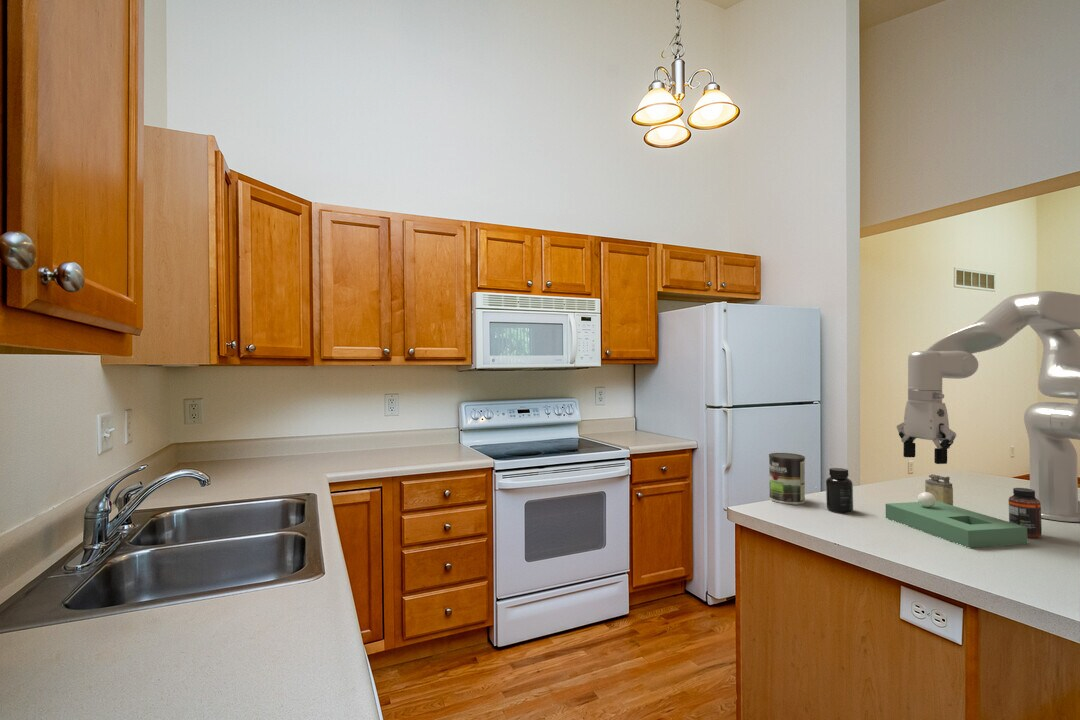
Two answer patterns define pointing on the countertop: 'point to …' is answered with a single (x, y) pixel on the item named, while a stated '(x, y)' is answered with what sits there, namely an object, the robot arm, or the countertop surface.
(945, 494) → the lighter
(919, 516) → the putting board
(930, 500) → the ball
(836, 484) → the supplement bottle
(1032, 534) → the supplement bottle
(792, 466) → the coffee can
